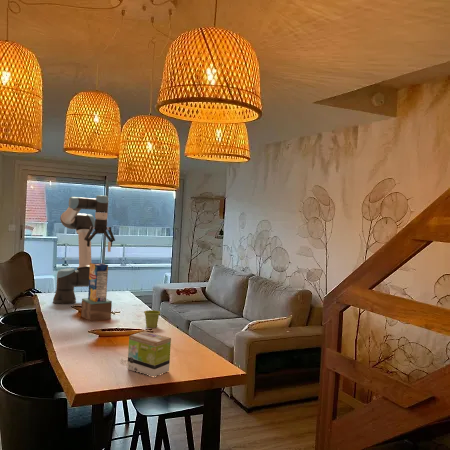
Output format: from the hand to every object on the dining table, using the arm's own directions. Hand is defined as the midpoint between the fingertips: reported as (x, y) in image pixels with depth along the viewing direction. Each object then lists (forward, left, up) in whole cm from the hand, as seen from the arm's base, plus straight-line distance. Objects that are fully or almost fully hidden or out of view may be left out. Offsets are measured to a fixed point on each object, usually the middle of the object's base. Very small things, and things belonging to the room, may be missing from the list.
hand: (99, 251), depth 295 cm
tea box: (+116, -28, -39) cm, 126 cm away
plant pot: (+52, +11, -39) cm, 66 cm away
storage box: (+18, -8, -39) cm, 43 cm away
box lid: (+18, -8, -29) cm, 35 cm away
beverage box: (+18, -8, -28) cm, 34 cm away
